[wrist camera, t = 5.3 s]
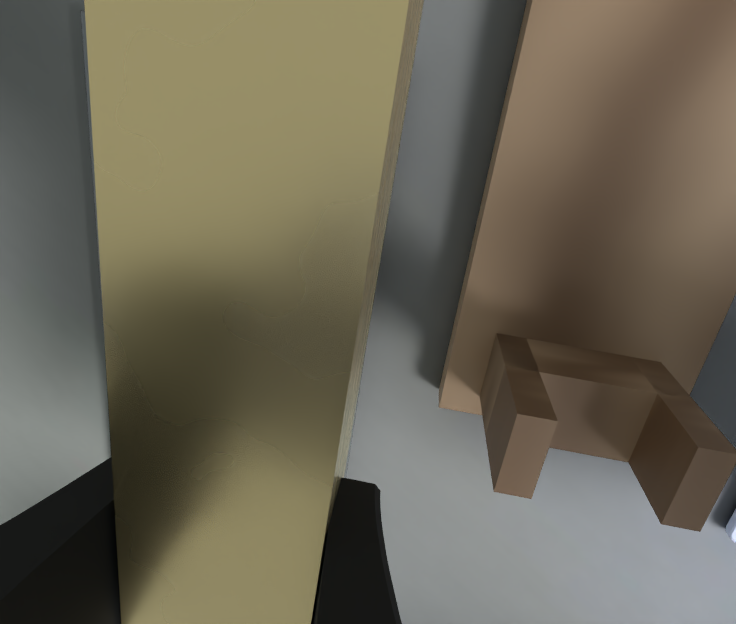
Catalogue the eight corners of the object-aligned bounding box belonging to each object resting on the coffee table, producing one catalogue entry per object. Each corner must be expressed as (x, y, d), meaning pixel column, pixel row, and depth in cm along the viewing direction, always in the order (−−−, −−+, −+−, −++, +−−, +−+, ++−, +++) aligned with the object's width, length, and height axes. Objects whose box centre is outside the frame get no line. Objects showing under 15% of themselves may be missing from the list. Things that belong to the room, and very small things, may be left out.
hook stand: (924, -200, 12) (1334, -450, 7) (652, 429, 19) (738, 562, 14) (581, -239, 13) (694, -502, 7) (438, 389, 20) (440, 503, 14)
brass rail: (450, -161, 6) (466, -358, 3) (296, 761, 13) (264, 917, 11) (215, -195, 6) (60, -407, 4) (192, 738, 14) (137, 887, 11)
